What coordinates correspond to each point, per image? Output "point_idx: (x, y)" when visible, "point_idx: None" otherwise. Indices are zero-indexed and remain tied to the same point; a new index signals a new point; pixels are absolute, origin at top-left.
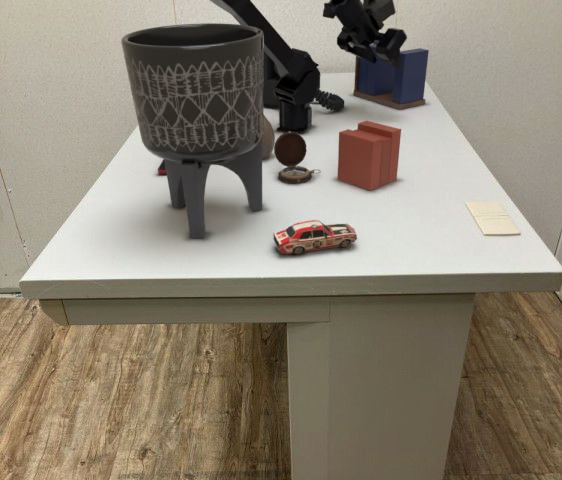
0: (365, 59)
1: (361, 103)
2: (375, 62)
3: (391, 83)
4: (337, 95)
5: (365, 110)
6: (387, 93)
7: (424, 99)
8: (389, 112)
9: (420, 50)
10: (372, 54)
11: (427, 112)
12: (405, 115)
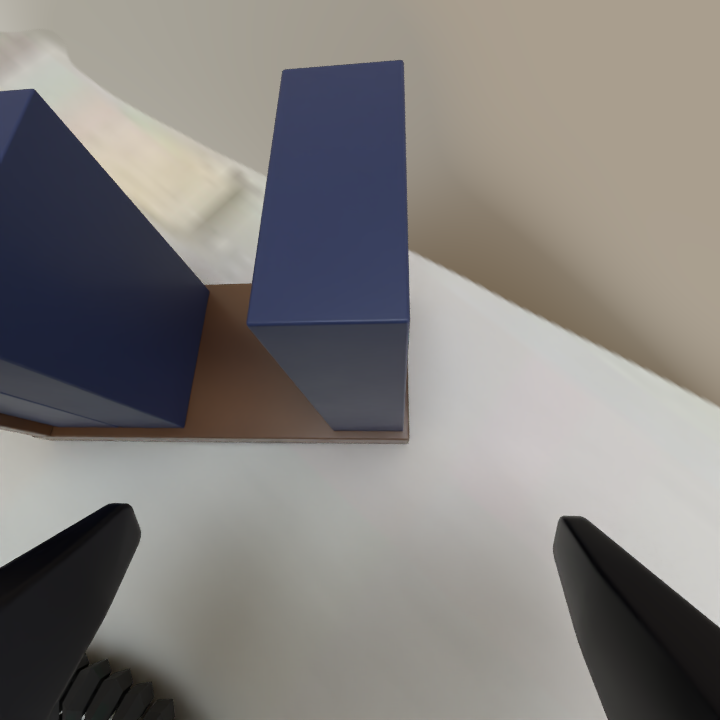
0: (47, 715)
1: (182, 516)
2: (136, 527)
3: (183, 301)
4: (67, 713)
5: (298, 606)
6: (205, 344)
7: None
8: (415, 522)
9: (367, 112)
10: (49, 599)
11: (524, 368)
12: (513, 494)
